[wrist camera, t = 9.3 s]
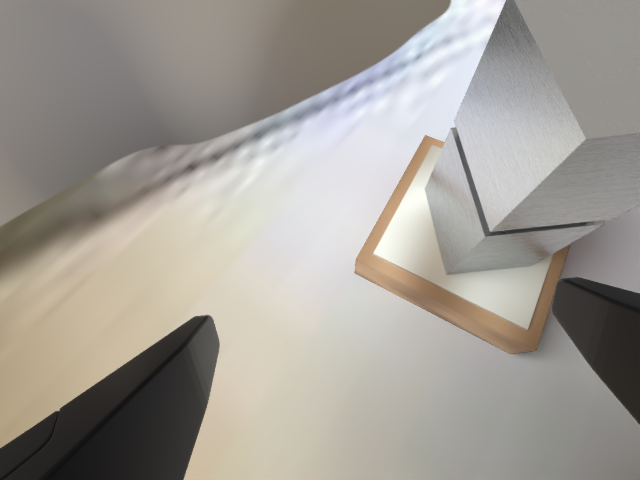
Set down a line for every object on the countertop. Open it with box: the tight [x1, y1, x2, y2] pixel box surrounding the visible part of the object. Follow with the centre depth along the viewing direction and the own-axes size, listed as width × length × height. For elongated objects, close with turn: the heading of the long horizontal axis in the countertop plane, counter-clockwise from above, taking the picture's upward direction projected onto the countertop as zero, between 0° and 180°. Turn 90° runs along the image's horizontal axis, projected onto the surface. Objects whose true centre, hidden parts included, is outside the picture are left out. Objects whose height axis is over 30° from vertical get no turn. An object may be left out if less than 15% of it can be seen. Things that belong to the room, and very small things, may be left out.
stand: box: [355, 135, 570, 354], centre depth 21 cm, size 11×11×3 cm
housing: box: [425, 0, 640, 275], centre depth 14 cm, size 6×5×12 cm
